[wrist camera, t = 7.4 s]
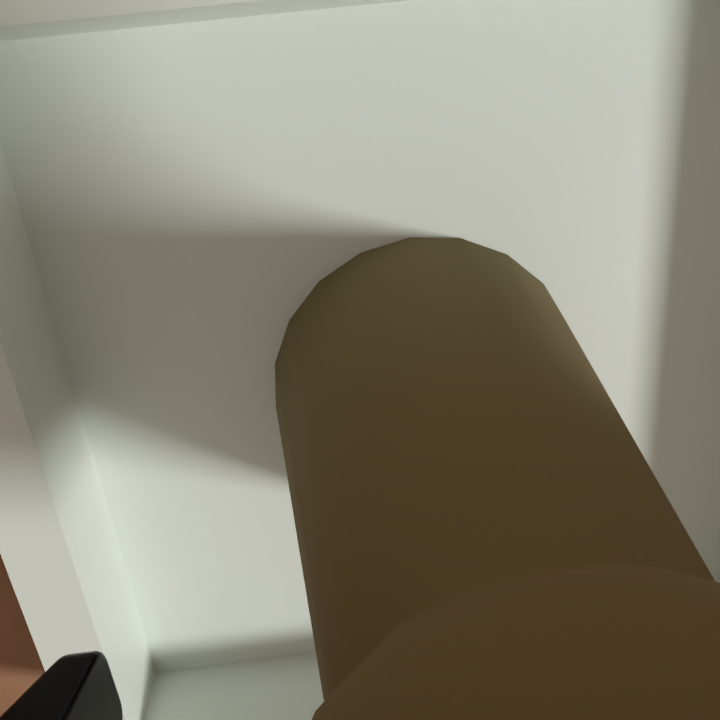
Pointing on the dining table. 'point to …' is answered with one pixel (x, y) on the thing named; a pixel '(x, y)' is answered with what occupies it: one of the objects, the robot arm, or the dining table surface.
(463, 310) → the brown pawn
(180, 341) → the tray
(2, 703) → the dining table surface
